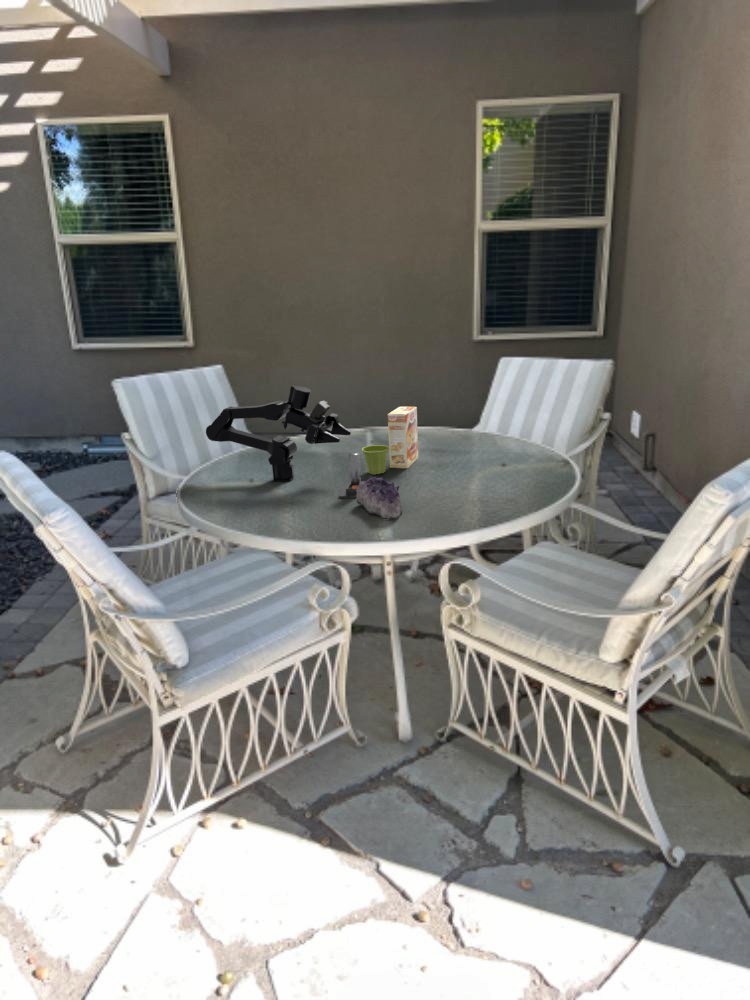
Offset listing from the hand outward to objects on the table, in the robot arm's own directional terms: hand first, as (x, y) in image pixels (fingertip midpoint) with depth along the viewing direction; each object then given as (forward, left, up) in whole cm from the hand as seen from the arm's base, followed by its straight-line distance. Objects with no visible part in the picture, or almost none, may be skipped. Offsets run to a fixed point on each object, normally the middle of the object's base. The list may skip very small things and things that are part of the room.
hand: (345, 437), depth 228 cm
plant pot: (+8, +12, -16) cm, 21 cm away
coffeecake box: (+17, +24, -16) cm, 33 cm away
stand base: (+4, -12, -16) cm, 20 cm away
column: (+4, -12, -16) cm, 20 cm away
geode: (+14, -28, -16) cm, 36 cm away
